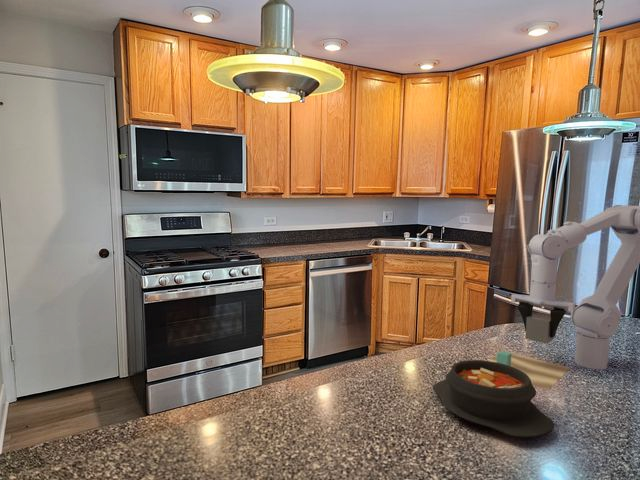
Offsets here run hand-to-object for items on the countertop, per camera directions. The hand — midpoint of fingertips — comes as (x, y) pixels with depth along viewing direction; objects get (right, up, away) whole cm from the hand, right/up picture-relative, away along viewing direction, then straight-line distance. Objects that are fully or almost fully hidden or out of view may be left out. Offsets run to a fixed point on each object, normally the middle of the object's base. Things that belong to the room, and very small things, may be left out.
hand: (539, 334), depth 107 cm
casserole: (-22, -11, -22) cm, 33 cm away
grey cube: (0, -1, 0) cm, 1 cm away
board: (-4, -9, 0) cm, 10 cm away
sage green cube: (-10, -9, -1) cm, 13 cm away
